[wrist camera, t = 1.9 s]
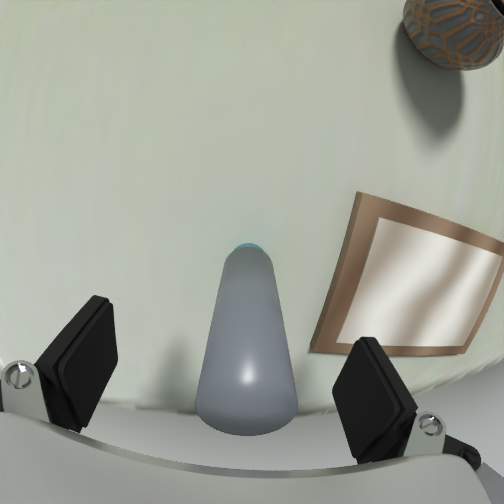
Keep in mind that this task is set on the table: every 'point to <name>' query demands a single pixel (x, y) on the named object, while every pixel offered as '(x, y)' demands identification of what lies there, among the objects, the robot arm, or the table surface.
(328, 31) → the table surface
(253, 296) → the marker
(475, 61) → the vase
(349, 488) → the robot arm
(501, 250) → the brown picture frame
